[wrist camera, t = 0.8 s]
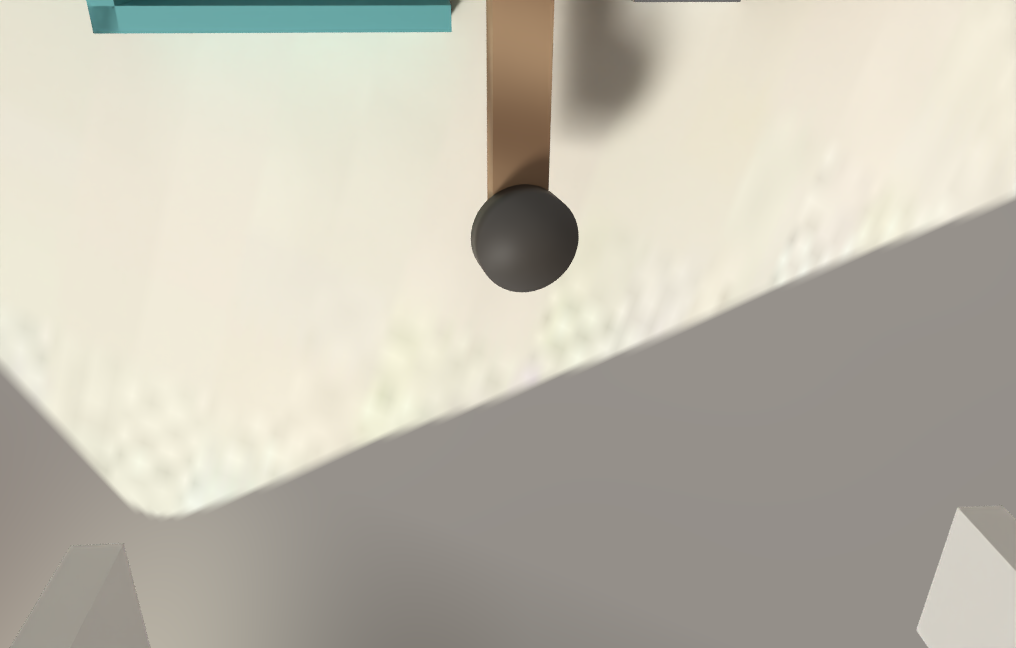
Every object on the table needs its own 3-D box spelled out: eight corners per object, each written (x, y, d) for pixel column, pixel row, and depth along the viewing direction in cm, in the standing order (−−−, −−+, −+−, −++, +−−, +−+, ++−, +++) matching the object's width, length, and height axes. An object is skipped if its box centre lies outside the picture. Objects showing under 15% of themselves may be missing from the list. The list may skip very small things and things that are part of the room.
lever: (445, -292, 22) (479, -325, 19) (935, -253, 26) (1026, -276, 23) (458, 266, 30) (484, 306, 27) (836, 224, 34) (895, 254, 31)
